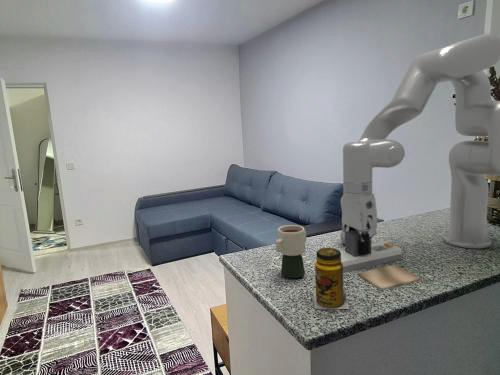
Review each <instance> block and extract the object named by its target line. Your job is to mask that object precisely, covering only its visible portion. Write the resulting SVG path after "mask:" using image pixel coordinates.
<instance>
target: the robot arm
mask: <svg viewBox="0 0 500 375" xmlns="http://www.w3.org/2000/svg"><path fill="white" fill-rule="evenodd" d="M499 61H500V37H499V36H498V35H495V34H493V33H484V34H480V35H478V36H475V37H474V36H473V37H471V38H467V39H464V40H461V41H458V42H455V43H454V42H453V43H452V44H448V45H446V46H443V47H440V48H436V49H433V50H429V51H427V52H425V53H422V54H420V55H418V56H416V57H415V58H414V59H413V60H412V62H411V63H410V65H409V67H408V69H407V71H406V73H405V74H404V77H403V78H402V80H401V82H400V84H399V85H398V87H397V89H396V91H395V94H394V96H393V97H392V99H391V101H390V102H389V103H388V104H387V105H385V106H384V107H383V108H382V109H381V110H380V111H379V113H377V114H376V115H375V116H374V117H373V118H372V120H370V122H369V123H368V124H367V126H366V127H365V129H364V130H363V133H362V134H361V136H360V138H359V140H358V141H353V142H352V141H351V142H347V143H345V144H344V145H343V147H342V171H343V172H342V174H343V175H342V182H343V184H342V187H343V195H342V196H343V200H342V208H341V224H342V223H343V225H344V227H345V229H346V231H351V230H359V237H360V241H358V254H359V255H364V254H369V240H371V241H372V238H373V237H374V236H376V235H377V234H378V231H377V228H378V213H377V212H378V211H377V204H376V198H375V193H374V192H373V169H374V168H387V169H388V168H390V169H391V168H394V167H396V166H398V165H400V163H402V161H403V160H404V158H405V155H406V153H405V147H404V146H403V145H402V143H400V142H399V141H398V140H394V139H388V138H387V137H388V136H389V135H390V134H391V133H392V132H393V131H394V130H396V129H398V128H399V127H400V126H402V125H404V124H406V123H409V122H411V121H412V120H413V119H415V118H417V117H418V116H420V115H421V114H422V113H423V111H424V110H425V107H426V105H427V104H428V102H429V99H430V98H431V96H432V94H433V92H434V90H435V88H436V87H437V85H438V84H439V83H444V82H451V84H452V85H453V87H454V91H455V92H454V93H455V106H454V107H455V112H454V113H455V114H454V116H455V118H454V119H455V125H454V126H455V130H456V132H457V133H458V134H459V135H461V136H466V137H487V138H488V140H464V141H460V142H458V143H456V144H454V145H453V146H452V147H451V149H450V151H449V154H448V163H449V169H450V177H451V178H450V180H451V183H450V184H451V185H450V186H451V187H450V207H449V228H448V229H449V230H448V233H444V234H443V236H442V237H443V238H442V239H443V241H444V242H446V243H447V244H449V245H452V246H454V247H459V248H465V249H487V248H489V247H490V246H491V245H492V240H491V239H490V238H489V237H488V235H489V234H493V233H495V231H496V229H495V227H494V226H487V217H488V203H489V202H488V201H489V191H490V190H489V189H490V188H489V183H488V180H487V178H486V176H485V175H487V176H488V175H489V176H497V177H498V176H499V177H500V100H495V101H492V91H491V90H492V88H491V86H492V85H491V82H490V79H489V77H488V75H487V73H486V72H485V71H484V70H488V69H490V68H492V67H493V66H494V65H496V64H497V63H498V62H499ZM363 232H366V234H365V235H363Z"/></svg>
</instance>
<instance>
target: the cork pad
mask: <svg viewBox="0 0 500 375" xmlns="http://www.w3.org/2000/svg"><path fill="white" fill-rule="evenodd" d="M357 276H358V277H360V278H362V279H363V280H365V281H366V282H368V283H369V284H370V285H373V286H374V287H376V288H377V289H379V290H381V291H383V290H388V289H393V288H395V287H400V286H403V285H407V284H412V283H414V282H419V281H422V277H420V276H418V275H416V274H415V273H412V272H411V271H408V270H406V269H404V268H402V267H400V266H399V265H396V264H392V265H388V266H383V267H378V268H375V269H370V270H366V271H362V272H357Z"/></svg>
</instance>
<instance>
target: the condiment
mask: <svg viewBox="0 0 500 375" xmlns="http://www.w3.org/2000/svg"><path fill="white" fill-rule="evenodd" d="M340 251H341V250H339V249H337V248H333V247H323V248H320V249H318V250H317V251H316V258H315V259H316V261H315V264H314V269H315V270H314V271H315V272H314V273H315V275H314V276H315V289H313V290H312V294H313V303H314V304H313V305H314V309H316V310H350V307H349V306H350V305H349V303H348V299H347V295H346V293H345V289H344V272H343V264H342V262H341V252H340Z"/></svg>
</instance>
